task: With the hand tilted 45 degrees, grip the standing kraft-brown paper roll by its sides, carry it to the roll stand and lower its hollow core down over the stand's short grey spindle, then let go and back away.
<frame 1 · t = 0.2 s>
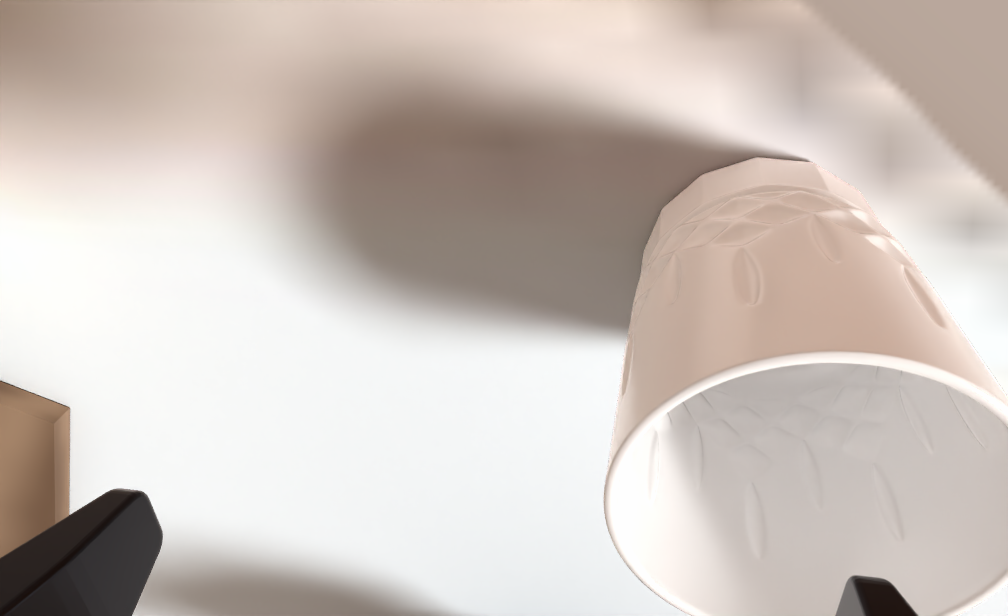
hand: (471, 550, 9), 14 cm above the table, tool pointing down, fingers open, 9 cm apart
white cup: (756, 257, 22), on the table
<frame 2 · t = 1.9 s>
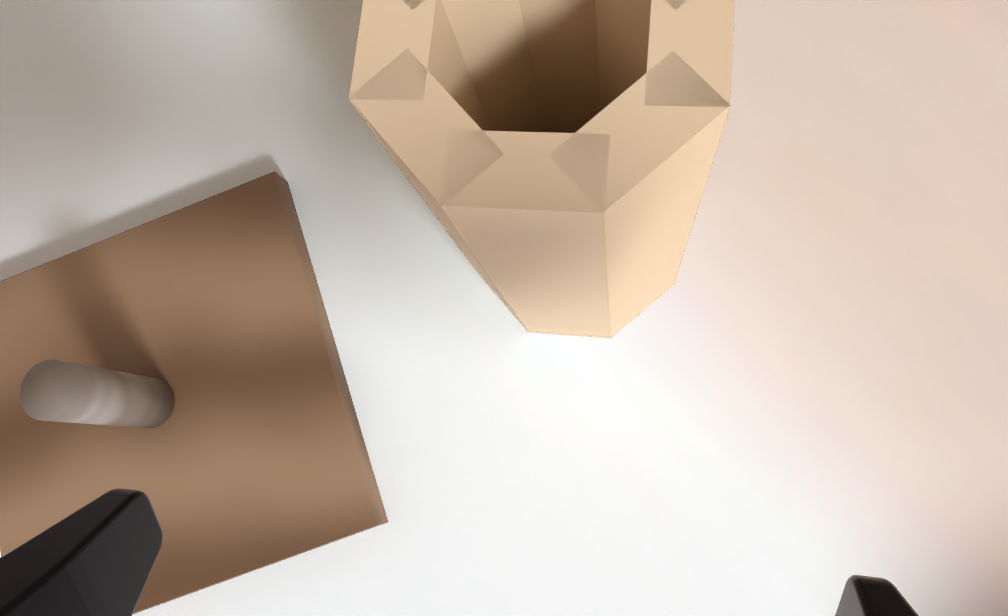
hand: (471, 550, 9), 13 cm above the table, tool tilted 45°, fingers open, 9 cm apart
roll stand: (169, 405, 25), on the table
paper roll: (577, 239, 24), on the table
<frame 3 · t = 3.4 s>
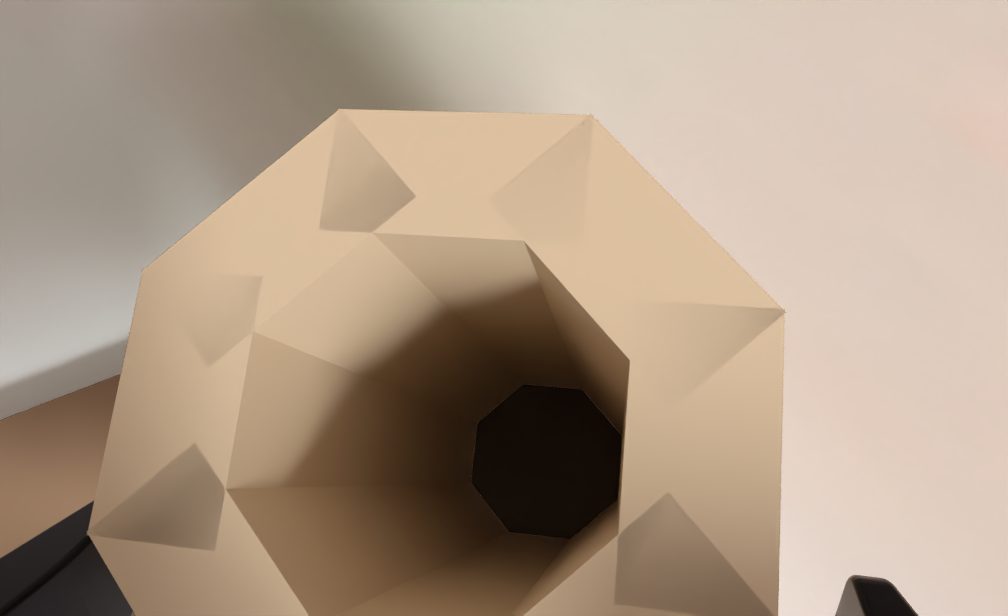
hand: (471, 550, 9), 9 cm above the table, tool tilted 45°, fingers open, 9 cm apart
paper roll: (545, 459, 18), on the table
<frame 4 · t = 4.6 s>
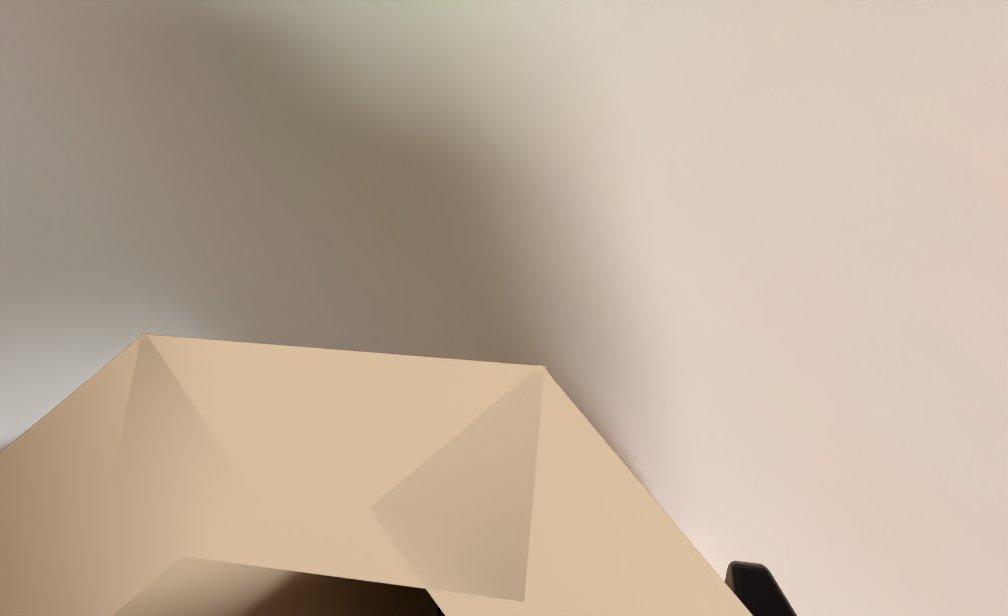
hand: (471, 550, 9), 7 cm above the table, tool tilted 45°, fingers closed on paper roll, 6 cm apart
paper roll: (524, 587, 16), on the table, touching gripper
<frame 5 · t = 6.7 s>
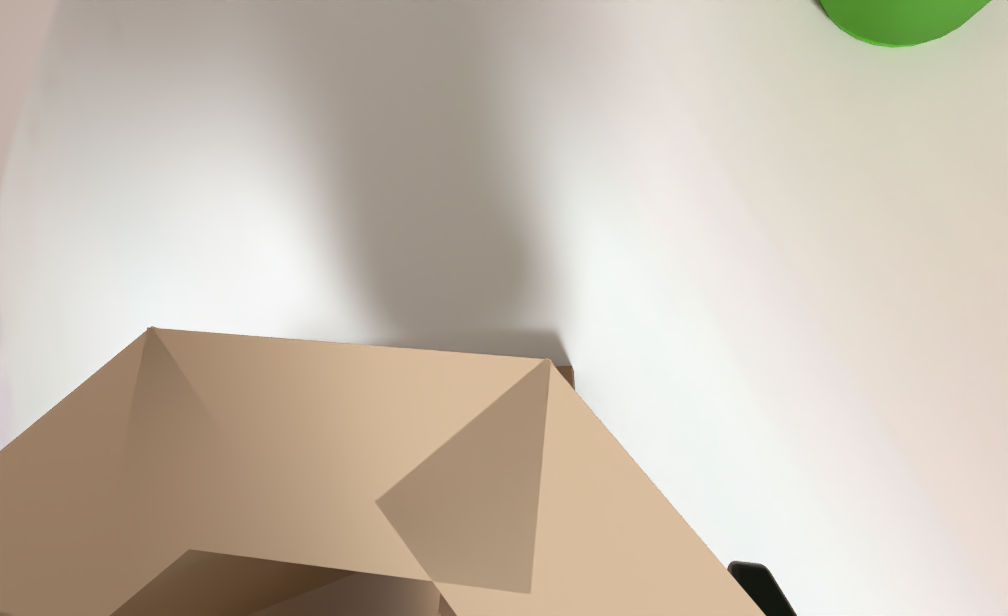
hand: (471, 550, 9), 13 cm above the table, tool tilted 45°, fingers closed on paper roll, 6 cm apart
roll stand: (390, 581, 23), on the table
paper roll: (526, 585, 16), point 7 cm above the table, touching gripper
when the fingers open (8 cm above the table, at t = 8.8 s): paper roll stays where it is, resting on roll stand.
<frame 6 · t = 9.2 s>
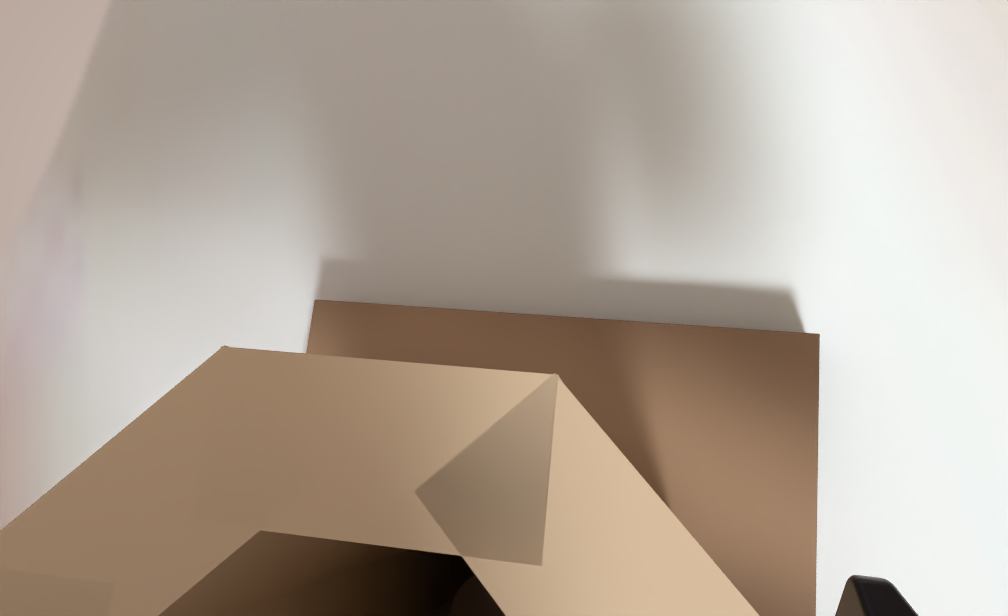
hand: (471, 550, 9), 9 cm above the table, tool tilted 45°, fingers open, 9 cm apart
roll stand: (534, 574, 17), on the table
paper roll: (529, 577, 16), point 1 cm above the table, touching roll stand
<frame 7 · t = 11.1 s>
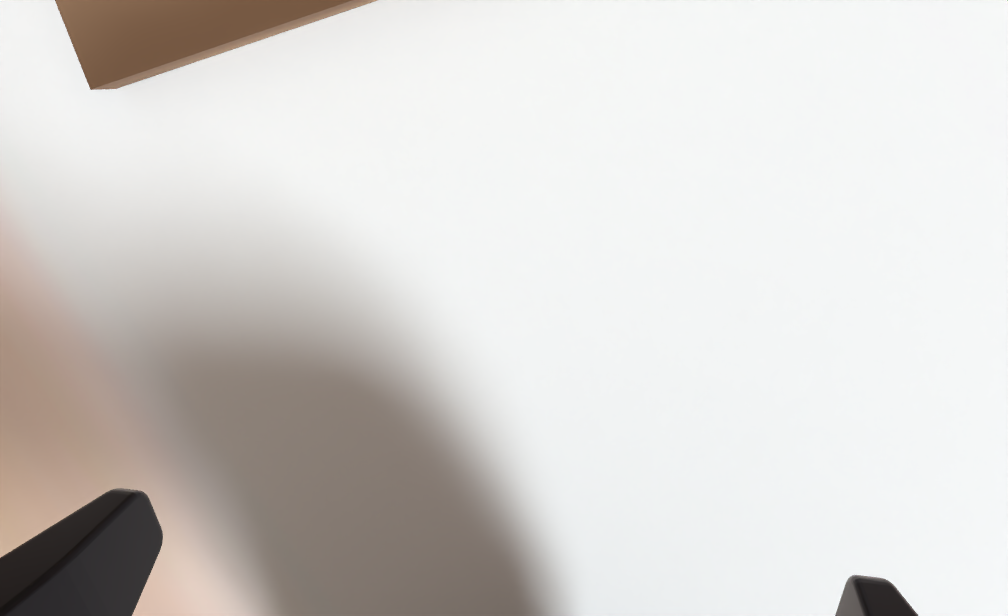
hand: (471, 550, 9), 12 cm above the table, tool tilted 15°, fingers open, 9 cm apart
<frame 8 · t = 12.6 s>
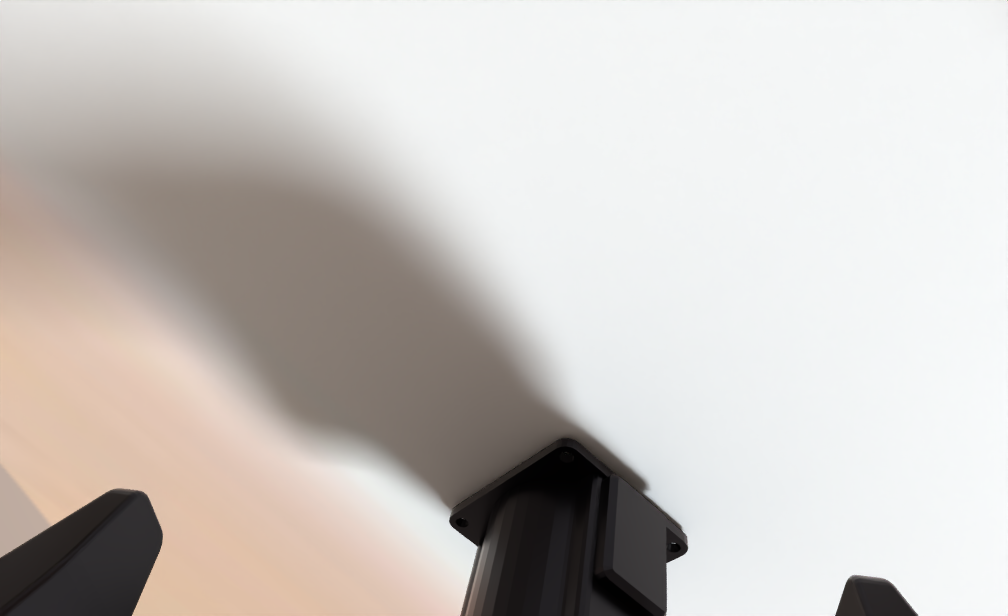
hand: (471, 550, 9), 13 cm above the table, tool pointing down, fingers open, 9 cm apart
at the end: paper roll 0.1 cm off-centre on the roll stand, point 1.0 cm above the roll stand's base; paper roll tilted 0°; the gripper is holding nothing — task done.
